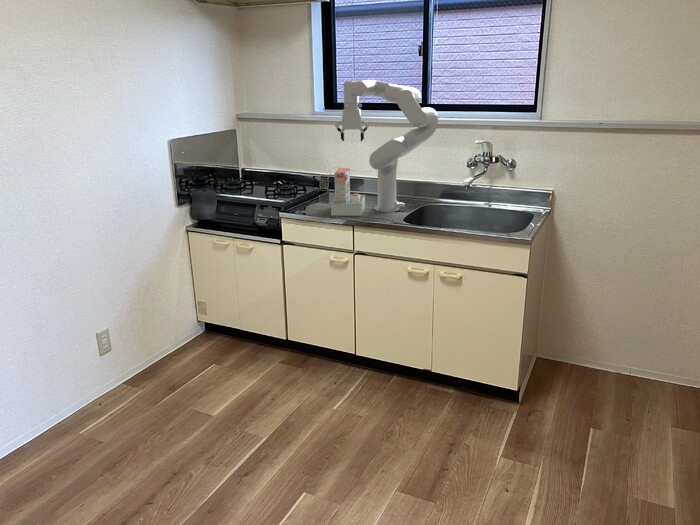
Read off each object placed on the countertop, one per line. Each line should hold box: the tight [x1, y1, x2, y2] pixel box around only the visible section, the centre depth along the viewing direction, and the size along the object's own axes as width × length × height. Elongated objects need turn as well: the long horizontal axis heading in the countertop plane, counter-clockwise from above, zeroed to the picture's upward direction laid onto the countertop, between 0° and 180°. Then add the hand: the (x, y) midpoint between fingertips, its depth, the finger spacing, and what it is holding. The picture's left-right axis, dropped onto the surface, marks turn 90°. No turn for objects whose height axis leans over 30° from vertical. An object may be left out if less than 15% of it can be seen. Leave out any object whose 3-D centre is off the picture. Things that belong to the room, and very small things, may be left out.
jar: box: [351, 193, 361, 203], centre depth 289 cm, size 4×4×9 cm
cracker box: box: [333, 167, 351, 203], centre depth 288 cm, size 14×6×21 cm, turn 171°
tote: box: [329, 194, 366, 217], centre depth 290 cm, size 16×18×7 cm
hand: (352, 140), depth 292 cm, fingers open, 9 cm apart
